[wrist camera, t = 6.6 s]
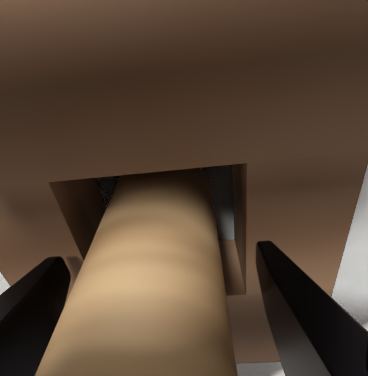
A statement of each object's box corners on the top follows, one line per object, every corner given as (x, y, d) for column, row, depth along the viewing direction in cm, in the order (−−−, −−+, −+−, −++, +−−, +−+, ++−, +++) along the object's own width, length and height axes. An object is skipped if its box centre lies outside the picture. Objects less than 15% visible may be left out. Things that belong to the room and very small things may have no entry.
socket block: (292, 303, 15) (313, 360, 13) (88, 315, 16) (69, 370, 14) (354, -87, 7) (453, -150, 4) (-82, -17, 8) (-215, -34, 5)
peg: (214, 226, 12) (246, 478, 6) (129, 233, 13) (62, 481, 6) (208, 146, 10) (249, 395, 3) (106, 157, 11) (-41, 407, 4)
